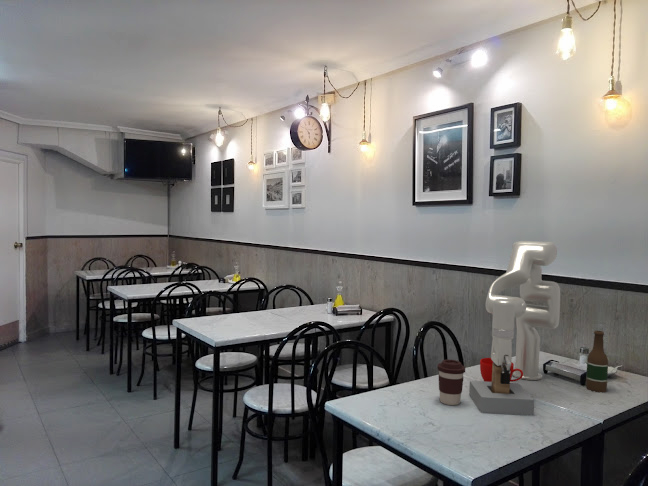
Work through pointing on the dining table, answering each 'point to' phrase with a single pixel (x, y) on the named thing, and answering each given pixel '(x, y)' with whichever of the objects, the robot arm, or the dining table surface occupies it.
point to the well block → (501, 399)
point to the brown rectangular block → (498, 381)
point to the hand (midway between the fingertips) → (501, 379)
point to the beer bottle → (597, 365)
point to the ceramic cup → (487, 370)
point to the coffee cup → (450, 381)
